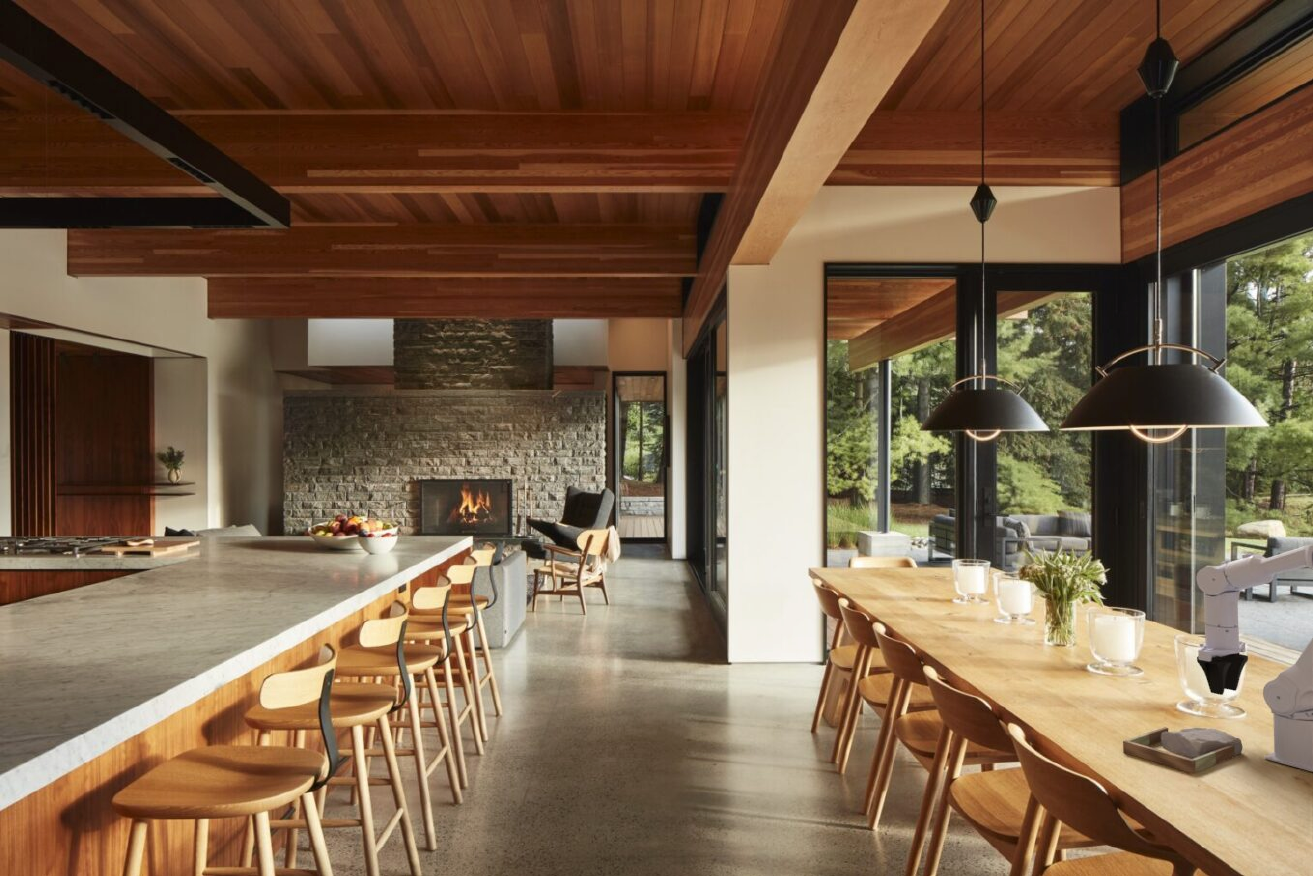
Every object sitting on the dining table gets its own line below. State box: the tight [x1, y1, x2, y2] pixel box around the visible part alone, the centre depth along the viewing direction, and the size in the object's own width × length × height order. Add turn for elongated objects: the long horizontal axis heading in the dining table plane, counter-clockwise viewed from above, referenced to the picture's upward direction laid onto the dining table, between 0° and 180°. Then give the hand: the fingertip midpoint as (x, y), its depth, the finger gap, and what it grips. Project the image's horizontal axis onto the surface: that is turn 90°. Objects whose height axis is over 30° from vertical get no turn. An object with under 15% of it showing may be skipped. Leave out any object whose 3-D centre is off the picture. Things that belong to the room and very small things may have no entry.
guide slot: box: [1122, 726, 1236, 774], centre depth 160 cm, size 13×15×2 cm
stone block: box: [1161, 727, 1243, 759], centre depth 163 cm, size 12×5×10 cm
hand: (1223, 691), depth 169 cm, fingers open, 5 cm apart
